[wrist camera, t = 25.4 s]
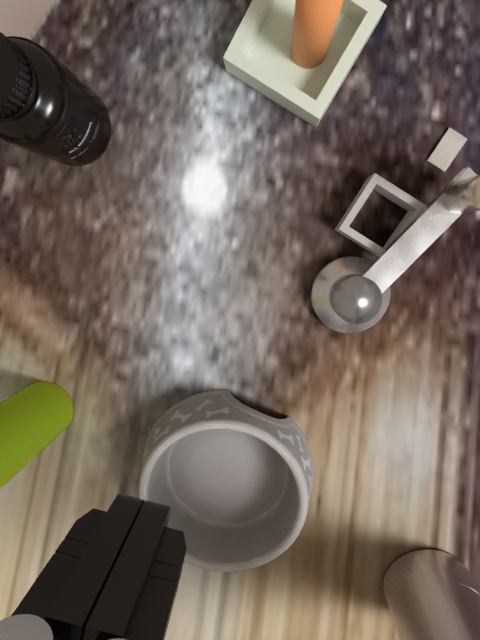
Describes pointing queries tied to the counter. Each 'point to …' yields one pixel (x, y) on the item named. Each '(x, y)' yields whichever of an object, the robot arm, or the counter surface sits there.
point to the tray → (276, 61)
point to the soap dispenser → (30, 425)
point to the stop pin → (313, 30)
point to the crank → (404, 250)
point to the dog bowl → (228, 480)
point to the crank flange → (357, 265)
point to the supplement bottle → (49, 106)
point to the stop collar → (390, 193)
